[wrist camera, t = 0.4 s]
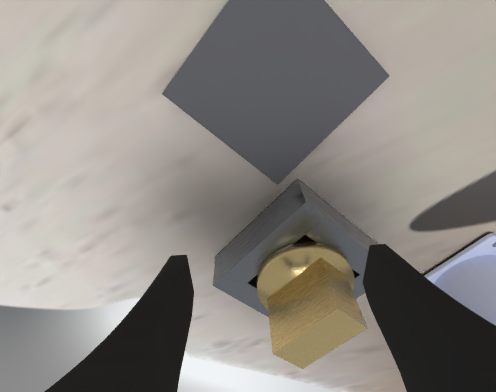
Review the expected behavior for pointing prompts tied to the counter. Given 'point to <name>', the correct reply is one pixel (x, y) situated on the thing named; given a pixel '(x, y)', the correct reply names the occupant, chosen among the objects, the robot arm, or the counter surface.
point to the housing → (288, 242)
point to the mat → (275, 80)
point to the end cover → (308, 300)
